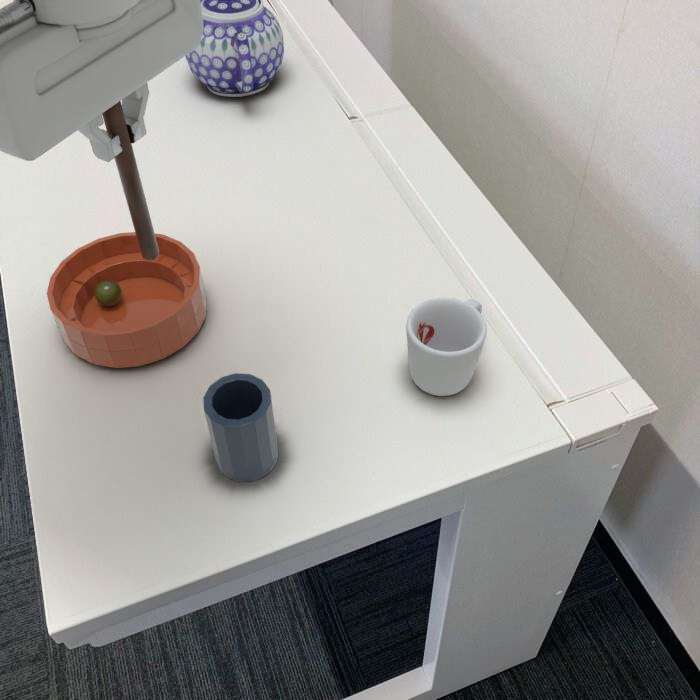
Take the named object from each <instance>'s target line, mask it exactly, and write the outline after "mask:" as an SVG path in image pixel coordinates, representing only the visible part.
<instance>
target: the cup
mask: <svg viewBox="0 0 700 700" xmlns="http://www.w3.org/2000/svg"><path fill="white" fill-rule="evenodd" d="M482 311H483V306H482V304H481V302H480V301H478V300H476V299H472V298H471V299H468V300H466V301H464V300H461V299H458V298H451V297H436V298H431V299H427V300H425V301H423V302H421V303H419V304H417V305H415V307H414V308H413V309H412V310H411V311H410V313H409V314H408V316H407V319H406V324H405V330H406V345H407V360H408V370H409V373H410V374H409V375H410V377H411V379H412V381H413V382H414V384H415V386H417V387H418V388H419V389H420V390H421V391H424V393H427V394H429V395H432V396H438V397H446V396H453V395H456V394H458V393H460V392H461V391H463V390H464V389H465V388H466V387H467V386H468V385H469V383H470V382H471V380H472V378H473V376H474V374H475V370H476V368H477V365H478V361H479V358H480V357H481V353H482V350H483V347H484V344H485V342H486V338H487V335H488V326H487V321H486V319H485V318H484V316H483V315H482Z"/></svg>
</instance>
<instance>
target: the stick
mask: <svg viewBox="0 0 700 700" xmlns="http://www.w3.org/2000/svg"><path fill="white" fill-rule="evenodd" d="M102 117H103V121H104V123H103V124H104V126H105V130H106V131H108V133H114V134H116V135H118V136H119V139H120V146H121V147H122V153H120V154H119V155H118V156H116V157H115V158H114V162H115V165H116V169H117V172H118V175H119V179H120V182H121V186H122V191H123V193H124V197H125V201H126V204H127V207H128V211H129V215H130V218H131V222H132V225H133V229H134V232H135V233H136V236H137V240H138V243H139V247H140V251H141V254H142V256H143V258H144V259H146V260H148V261H153V260H155V259H156V258H157V257H158V255H159V249H158V245H157V241H156V237H155V233H156V232H155V230H154V225H153V223H152V222H153V221H152V219H151V214H150V211H149V207H148V203H147V198H146V195H145V191H144V188H143V183H142V179H141V175H140V171H139V167H138V164H137V160H136V156H135V153H134V149H133V148H134V147H133V143H131V140H130V136H129V132H128V128H127V125H126V121H125V117H124V113H123V109H122V100H121V101H119V102H118V103H116V104H115V105H114V106H112V107H111V108H109V109H108V110H106V111H105V112H103V113H102Z"/></svg>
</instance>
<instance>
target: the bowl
mask: <svg viewBox="0 0 700 700" xmlns="http://www.w3.org/2000/svg"><path fill="white" fill-rule="evenodd" d="M154 233H155V237H156V241H157V245H158V249H159V255H158V257H157V258H156V259H155V260H153V261H148V260H146V259H144V258H143V256H142V254H141V251H140V247H139V243H138V240H137V236H136V233H135V231H131V232H120V233H119V232H118V233H115V234H112V235H108V236H104V237H100V238H98V239H94V240H93V241H90V242H89V243H86V244H84V245H83V246H80V247H78V248H76V249H75V250H74V251H73V252H71V253H70V254H69V255H68V256H66V257H65V258H64V259H62V260H61V262H60V263H59V264H58V266H57V267H56V269H55V270H54V271H53V273H52V274H51V276H50V278H49V281H48V286H47V290H46V297H47V302H48V304H49V310H50V311H51V314H52V317H53V318H54V321H55V323H56V326H57V329H58V330H59V333H60V336H61V338H62V340H63V343H64V344H65V345H66V346H67V347H68V349H70V351H71V352H72V353H73V354H74V355H75V356H77V357H79V358H80V359H83V360H84V361H86V362H89V364H90V363H91V364H92V365H96V366H102V367H109V368H114V369H115V368H116V369H121V368H122V369H123V368H135V367H143V366H145V365H148V364H152V363H155V362H158V361H161V360H164V359H165V358H168V357H169V356H171V355H172V354H175V353H176V352H178V351H179V350H181V349H183V348H184V347H185V346H186V345H188V344H189V342H190V341H191V340H193V338H194V337H195V336H196V335H197V334H198V333H199V331H200V330H201V327H202V325H203V324H204V321H205V319H206V318H207V300H208V299H207V296H206V290H205V286H204V281H203V276H202V271H201V266H200V263H199V262H198V259H197V257H196V255H195V253H194V252H193V251H192V250H191V249H190V248H189V247H188V246H186V245H185V244H184V243H183V242H182V241H180V240H177V239H176V238H173V237H171V236H168V235H166V234H164V233H156V232H154ZM104 280H112V281H114V282H116V283H117V284H118V285H119V286H120V288H121V290H122V297H121V299H120V301H119V302H118V303H117V304H115V305H113V306H104V305H101V304H100V303H99V302H98V301H97V300H96V298H95V295H94V291H95V287H96V286H97V284H98V283H100V282H101V281H104Z"/></svg>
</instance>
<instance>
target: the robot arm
mask: <svg viewBox="0 0 700 700" xmlns="http://www.w3.org/2000/svg"><path fill="white" fill-rule="evenodd" d="M202 34H203V16H202V10H201V3H200V0H12V2H10V3H8V4H6V5H4V6H3V7H1V8H0V152H1V153H3V154H6V155H7V156H11V157H14V158H17V159H20V160H23V161H27V162H32V161H35V160H37V159H38V158H40V157H41V156H42V155H44V154H46V153H47V152H49V151H50V150H51V149H53V148H54V147H56V146H57V145H59V144H60V143H61V142H63V141H64V140H66V139H67V138H68V137H70V136H72V135H74V133H76V132H77V131H78V132H79V133H80V134H81V135H83V136H84V137H85V138H86V139H88V140H89V144H90V146H91V150H92V154H93V155H94V156H95V157H96V158H97V159H98V160H102V161H103V162H107V163H110V162H111V161H113V160H115V157H116V156H118V155H119V154H120V153H122V147H121V146H120V139H119V136H118V135H116V134H114V133H108V131H107V130H106V129H103V128H101V126H103V125H104V124H105V123H104V119H103V116H102V113H103V112H105V111H106V110H108V109H109V108H111V107H112V106H114V105H115V104H116V103H118V102H119V101H121V105H122V109H123V113H124V117H125V121H126V125H127V128H128V132H129V136H130V140H131V144H135V143H137V141H139V140H141V139H142V138H144V137H145V136H146V135H147V133H148V132H147V127H146V123H145V118H144V117H145V115H146V109H147V105H148V100H149V95H150V89H149V85H148V82H150V81H151V80H153V79H154V78H156V77H157V76H158V75H160V74H162V73H163V72H164V71H166V70H167V69H169V68H170V67H172V66H173V65H175V64H176V63H177V62H179V61H180V60H182V59H183V58H186V57H185V56H186V55H188V54H189V53H190V52H192V51H193V50H195V49H196V48H198V46H199V44H200V42H201V38H202Z"/></svg>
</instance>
